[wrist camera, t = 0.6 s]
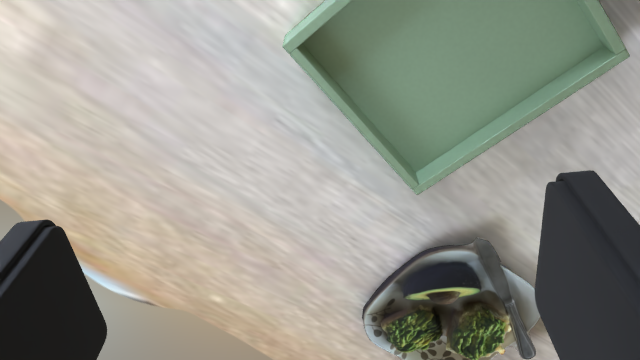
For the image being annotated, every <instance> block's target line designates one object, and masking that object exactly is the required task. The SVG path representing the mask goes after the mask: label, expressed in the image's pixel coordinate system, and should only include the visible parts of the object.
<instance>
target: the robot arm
mask: <svg viewBox="0 0 640 360" xmlns="http://www.w3.org/2000/svg"><path fill="white" fill-rule="evenodd" d="M535 301H536V306H537V309H538V312H539V314H540V316H541V319H542V321H543V323H544V325H545V327H546V330H547V332H548V334H549V336H550V339H551V341H552V343H553V345H554V348H555V350H556V352H557V354H558V356H559V359H560V360H640V225H639V224H638V223H637V222H636V220H635V219H634V218H633V217H632V216H631V214H630V213H629V212H628V211H627V210H626V208H625V207H624V206H623V205H622V204H621V202H620V201H619V200H618V199H617V198H616V196H615V195H614V194H613V193H612V191H611V190H610V189H609V188H608V187H607V185H606V184H605V183H604V182H603V181H602V179H601V178H600V177H599V176H598V175H597V173H595V172H594V171H580V172H569V173H560V174H559V175H558V176H557V178H556V182H549V183H548V184H547V187H546V193H545V202H544V211H543V220H542V229H541V238H540V247H539V256H538V265H537V274H536V283H535ZM106 335H107V326H106V323H105V320H104V318H103V315H102V313H101V311H100V309H99V307H98V305H97V302H96V300H95V298H94V295H93V294H92V291H91V289H90V287H89V285H88V282H87V280H86V278H85V276H84V273H83V271H82V269H81V267H80V264H79V262H78V260H77V258H76V256H75V253H74V251H73V249H72V247H71V245H70V242H69V240H68V238H67V236H66V234H65V232H64V230H63V229H62V228H61V227H59V226H56V225H55V224H54V223H53V222H52V221H50V220H38V221H27V222H20V223H17V224H16V225H14V226H13V227H12V229H11V230H10V231H9V232H8V233H7V234H6V236H5V237H4V238H3V239H2V240H1V241H0V360H96V359H97V357H98V355H99V353H100V351H101V349H102V346H103V344H104V342H105V339H106Z"/></svg>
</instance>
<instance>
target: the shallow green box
mask: <svg viewBox="0 0 640 360" xmlns="http://www.w3.org/2000/svg"><path fill="white" fill-rule="evenodd" d="M283 48H284V49H285V50H286V51H287V52H288V53H289V54H290V56H291V57H292V58H293V59H294V60H295V61H296V62H297V63H298V64H299V66H300V67H301V68H302V69H303V70H304V71H305V72H306V73H307V74H308V75H309V77H310V78H311V79H312V80H313V81H314V82H315V83H316V84H317V85H318V87H319V88H320V89H321V90H322V91H323V92H324V93H325V94H326V95H327V96H328V98H329V99H330V100H331V101H332V102H333V103H334V104H335V105H336V106H337V107H338V109H339V110H340V111H341V112H342V113H343V114H344V115H345V116H346V117H347V119H348V120H349V121H350V122H351V123H352V124H353V125H354V126H355V127H356V128H357V130H358V131H359V132H360V133H361V134H362V135H363V136H364V137H365V138H366V140H367V141H368V142H369V143H370V144H371V145H372V146H373V147H374V148H375V149H376V151H377V152H378V153H379V154H380V155H381V156H382V157H383V158H384V159H385V160H386V162H387V163H388V164H389V165H390V166H391V167H392V168H393V169H394V170H395V172H396V173H397V174H398V175H399V176H400V177H401V178H402V179H403V180H404V181H405V183H406V184H407V185H408V186H409V187H410V188H411V189H412V190H413V191H414V192H415V194H416V195H418V194H420V193H421V192H423V191H424V190H426V189H428V188H429V187H431V186H432V185H434V184H435V183H437V182H438V181H440V180H441V179H443V178H444V177H446V176H447V175H449V174H451V173H452V172H454V171H455V170H457V169H458V168H460V167H461V166H463V165H464V164H466V163H467V162H469V161H470V160H472V159H474V158H475V157H477V156H478V155H480V154H481V153H483V152H484V151H486V150H487V149H489V148H490V147H492V146H494V145H495V144H497V143H498V142H500V141H501V140H503V139H504V138H506V137H507V136H509V135H510V134H512V133H513V132H515V131H517V130H518V129H520V128H521V127H523V126H524V125H526V124H527V123H529V122H530V121H532V120H533V119H535V118H536V117H538V116H540V115H541V114H543V113H544V112H546V111H547V110H549V109H550V108H552V107H553V106H555V105H556V104H558V103H559V102H561V101H563V100H564V99H566V98H567V97H569V96H570V95H572V94H573V93H575V92H576V91H578V90H579V89H581V88H582V87H584V86H586V85H587V84H589V83H590V82H592V81H593V80H595V79H596V78H598V77H599V76H601V75H602V74H604V73H605V72H607V71H609V70H610V69H612V68H613V67H615V66H616V65H618V64H619V63H621V62H622V61H624V60H625V59H627V58H628V57H630V55H629V53H628V51H627V50H626V48H625V46H624V44H623V42H622V41H621V39H620V37H619V35H618V34H617V32H616V30H615V28H614V27H613V25H612V23H611V22H610V20H609V18H608V16H607V15H606V13H605V11H604V9H603V8H602V6H601V4H600V2H599V1H598V0H325V1H324V2H323V3H322V4H321V5H320V6H318V7H317V8H316V9H315V10H314V11H313V12H312V13H310V14H309V15H308V16H307V17H306V18H305V19H304V20H302V21H301V22H300V23H299V24H298V25H297V26H296V27H294V28H293V29H292V30H291V31H290V32H289V33H287V34H286V35H285V38H284V42H283Z"/></svg>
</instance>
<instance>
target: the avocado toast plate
mask: <svg viewBox="0 0 640 360" xmlns="http://www.w3.org/2000/svg"><path fill="white" fill-rule="evenodd" d="M539 317H540V314H539V312H538V309H537V306H536V301H535V289H534V288H533V287H532V286H531V285H530V284H529V283H528V282H527V281H525V280H524V279H523V278H522V277H520V276H518V275H516V274H514V273H513V272H512V271H510V270H508V269H507V268H505V267H504V266H502V265H501V264H500V259H499V257H498V255H497V253H496V251H495V250H494V248H493V247H492V245H491V244H490V243H489V241H486V240H482V239H480V238H476V239H475V240H474V242H473V243H471V244H467V245H457V246H454V245H449V246H441V247H435V248H431V249H428V250H426V251H424V252H421V253H420V254H418V255H416V256H415V257H413V258H412V259H411V260H410V261H408V262H407V263H405V264H404V265H403V266H402V267H401V268H399V269H398V270H397V271H395V272H394V273H393V274H392V275H391V276H389V277H388V278H387V279H386V280H385V281H384V282H383V283H382V285H381V286H380V287H379V288H378V289H377V290H376V292H375V293H374V294H373V295H372V297H371V298H370V299H369V301H368V302H367V303H366V305H365V306H364V308H363V315H362V318H363V323H364V328H365V331H366V334H367V336H368V338H369V339H370V341H372V342H373V343H374V344H375V345H377V346H379V347H380V348H382V349H384V350H386V351H388V352H390V353H392V354H394V355H396V356H398V357H400V358H402V359H403V360H490V359H492V358H493V357H494V356H495V355H497V354H498V353H500V354H501V355H502V354H504V352H505V350H504V349H505V348H507V347H514V348H515V349H516V350H517V351H518V353H519V355H520V356H521V357H522V358H523V359H531V358H533V357H534V356H535V355H536V350H535V347H534V345H533V343H532V341H531V338H530V334H529V331H530V330H531V329H532V328H533V326H534V325H535V324H536V323H537V321H538V320H539Z"/></svg>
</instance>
